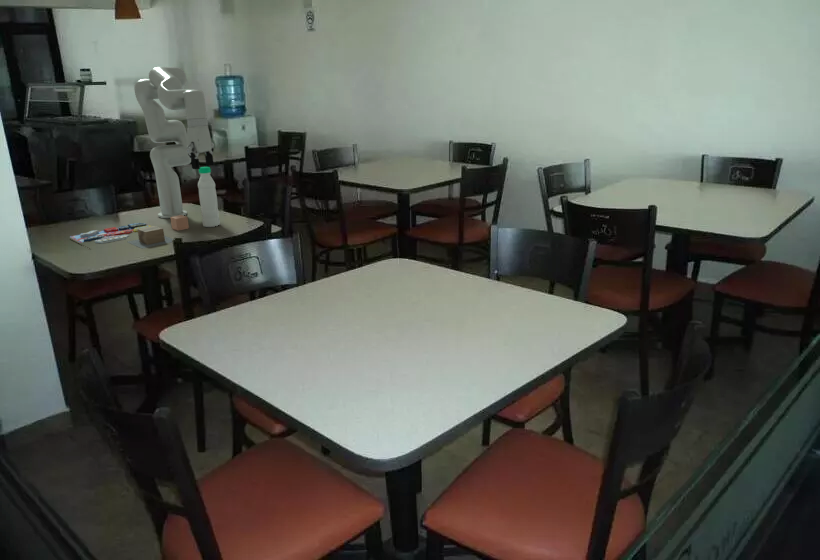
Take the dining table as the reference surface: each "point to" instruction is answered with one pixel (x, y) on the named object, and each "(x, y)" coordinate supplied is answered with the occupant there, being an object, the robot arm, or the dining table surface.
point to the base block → (151, 235)
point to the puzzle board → (108, 234)
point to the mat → (142, 245)
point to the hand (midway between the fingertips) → (203, 167)
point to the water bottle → (208, 198)
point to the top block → (179, 222)
